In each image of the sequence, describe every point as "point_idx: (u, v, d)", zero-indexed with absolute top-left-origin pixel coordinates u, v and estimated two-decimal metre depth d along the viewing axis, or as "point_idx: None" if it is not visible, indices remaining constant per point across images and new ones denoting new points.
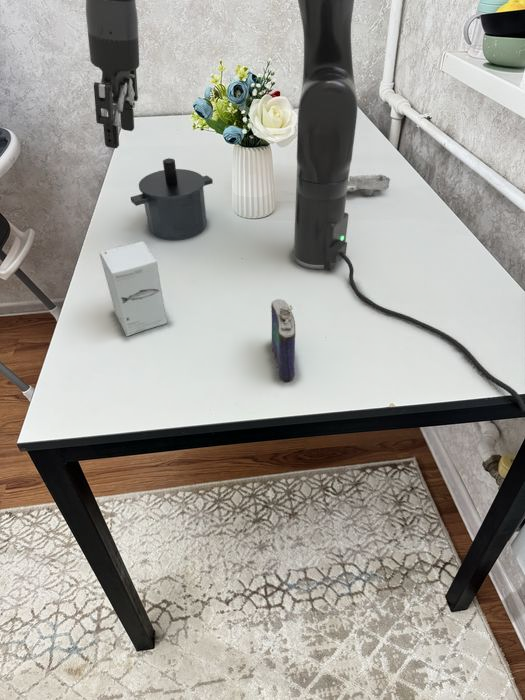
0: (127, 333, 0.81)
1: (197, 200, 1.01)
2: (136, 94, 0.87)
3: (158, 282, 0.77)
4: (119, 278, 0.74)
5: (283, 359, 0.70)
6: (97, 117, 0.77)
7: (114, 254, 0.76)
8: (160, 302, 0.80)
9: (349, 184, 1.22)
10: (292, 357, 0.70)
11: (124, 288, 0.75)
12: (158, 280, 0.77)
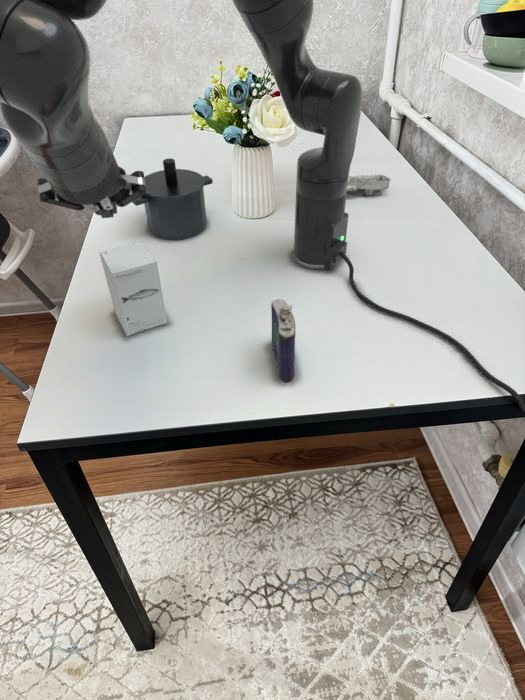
0: (127, 333, 0.81)
1: (197, 200, 1.01)
2: None
3: (158, 282, 0.77)
4: (119, 278, 0.74)
5: (284, 359, 0.70)
6: None
7: (115, 254, 0.76)
8: (160, 302, 0.80)
9: (349, 184, 1.22)
10: (292, 357, 0.70)
11: (124, 288, 0.75)
12: (158, 280, 0.77)
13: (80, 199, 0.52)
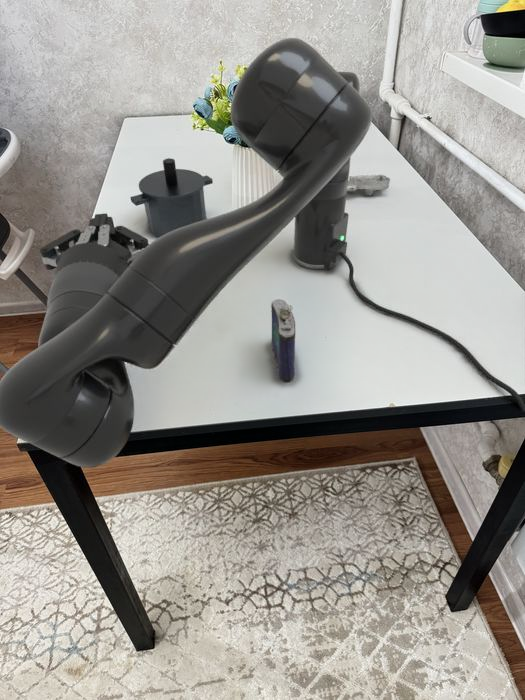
0: None
1: (197, 200, 1.01)
2: (72, 233, 0.59)
3: None
4: None
5: (284, 359, 0.70)
6: None
7: None
8: None
9: (349, 184, 1.22)
10: (292, 357, 0.70)
11: None
12: None
13: None
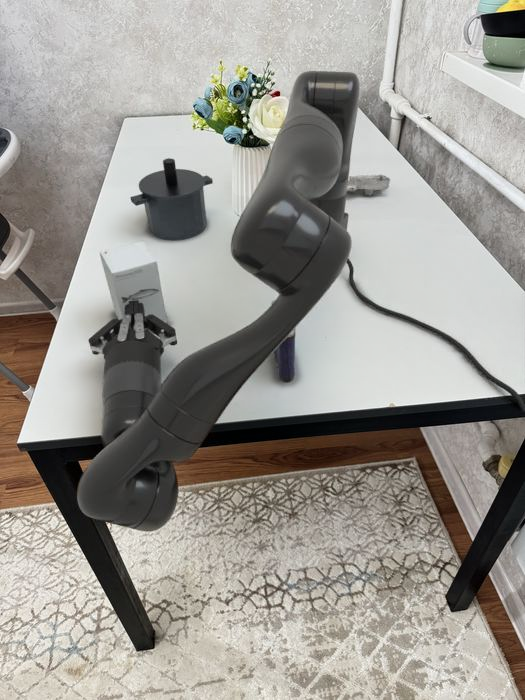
0: None
1: (197, 200, 1.01)
2: (112, 323, 0.72)
3: (158, 282, 0.77)
4: (119, 278, 0.74)
5: (284, 359, 0.70)
6: None
7: (115, 253, 0.76)
8: (160, 302, 0.80)
9: (349, 184, 1.22)
10: (292, 357, 0.70)
11: (124, 288, 0.75)
12: (158, 280, 0.77)
13: None
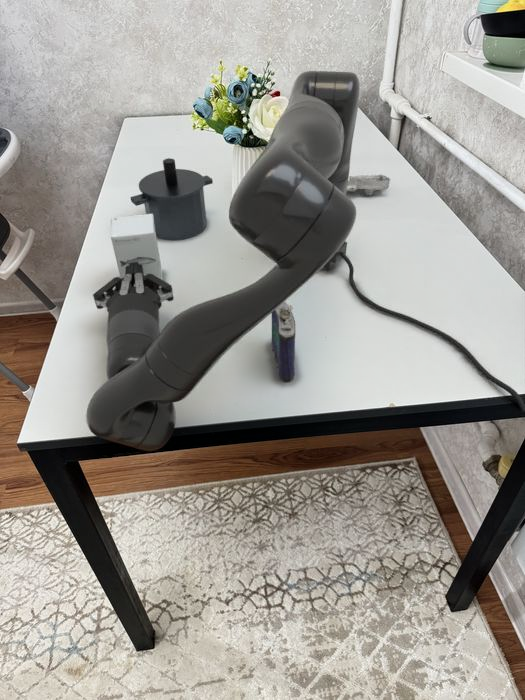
0: None
1: (197, 200, 1.01)
2: (114, 280, 0.80)
3: (155, 252, 0.84)
4: (117, 242, 0.81)
5: (284, 359, 0.70)
6: None
7: (122, 221, 0.84)
8: (157, 271, 0.86)
9: (349, 184, 1.22)
10: (292, 357, 0.70)
11: (122, 253, 0.83)
12: (155, 250, 0.84)
13: None
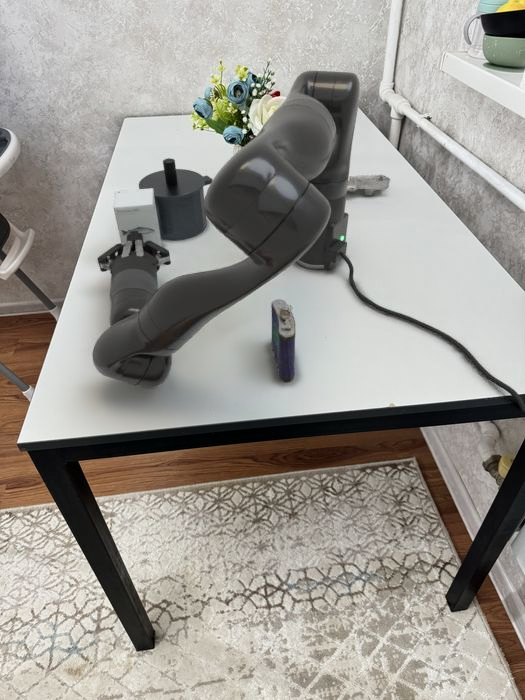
0: None
1: (197, 200, 1.01)
2: (117, 246, 0.87)
3: (154, 223, 0.92)
4: (119, 213, 0.89)
5: (284, 359, 0.70)
6: None
7: (124, 194, 0.92)
8: (155, 241, 0.94)
9: (349, 184, 1.22)
10: (292, 357, 0.70)
11: (124, 222, 0.90)
12: (154, 221, 0.91)
13: None
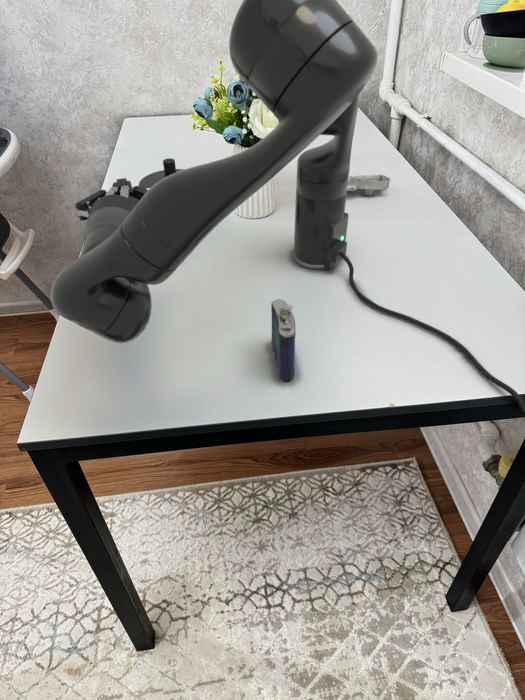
0: None
1: None
2: (99, 192, 0.75)
3: None
4: None
5: (284, 359, 0.70)
6: None
7: None
8: None
9: (349, 184, 1.22)
10: (292, 357, 0.70)
11: None
12: None
13: None
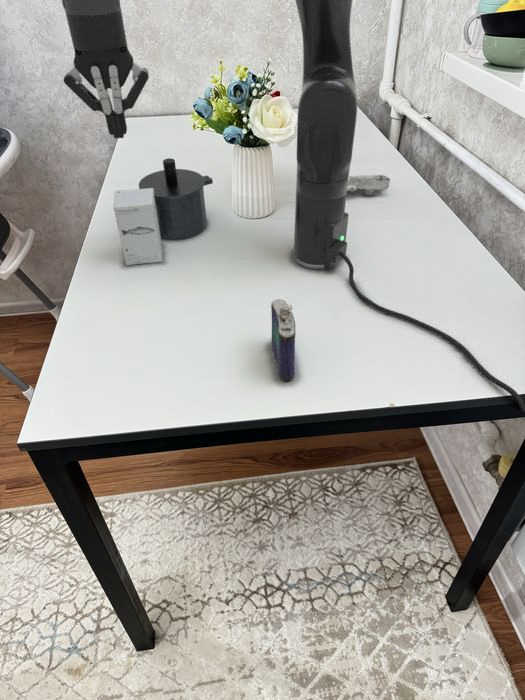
0: (126, 262, 0.96)
1: (197, 200, 1.01)
2: (93, 99, 0.76)
3: (154, 223, 0.92)
4: (119, 212, 0.89)
5: (284, 359, 0.70)
6: None
7: (125, 193, 0.92)
8: (155, 241, 0.94)
9: (349, 184, 1.22)
10: (292, 357, 0.70)
11: (124, 222, 0.90)
12: (154, 221, 0.91)
13: (92, 35, 0.67)
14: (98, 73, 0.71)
